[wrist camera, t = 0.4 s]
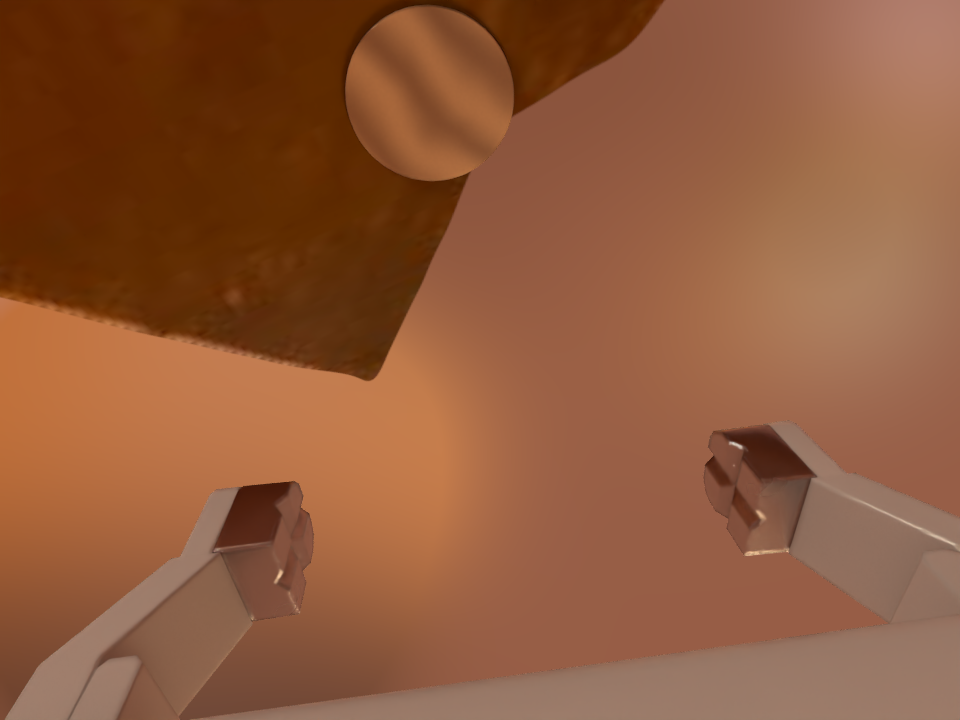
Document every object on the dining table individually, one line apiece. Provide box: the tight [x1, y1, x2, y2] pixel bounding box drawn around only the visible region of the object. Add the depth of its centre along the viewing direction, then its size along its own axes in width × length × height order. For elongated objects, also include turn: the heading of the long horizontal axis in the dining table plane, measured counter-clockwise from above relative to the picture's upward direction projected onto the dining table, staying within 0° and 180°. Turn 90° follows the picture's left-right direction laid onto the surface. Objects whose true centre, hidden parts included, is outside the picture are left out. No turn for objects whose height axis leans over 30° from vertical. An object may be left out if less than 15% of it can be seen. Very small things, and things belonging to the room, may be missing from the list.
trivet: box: [345, 5, 514, 181], centre depth 52 cm, size 16×16×1 cm
